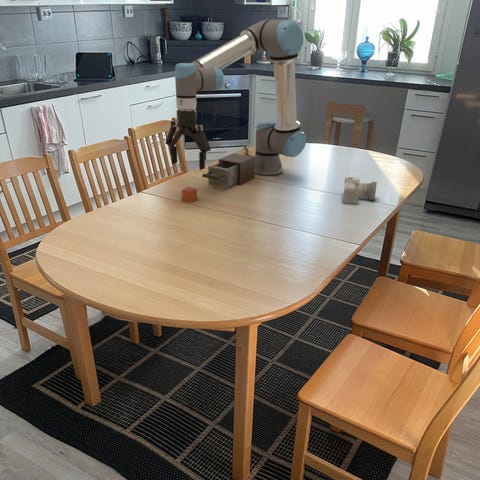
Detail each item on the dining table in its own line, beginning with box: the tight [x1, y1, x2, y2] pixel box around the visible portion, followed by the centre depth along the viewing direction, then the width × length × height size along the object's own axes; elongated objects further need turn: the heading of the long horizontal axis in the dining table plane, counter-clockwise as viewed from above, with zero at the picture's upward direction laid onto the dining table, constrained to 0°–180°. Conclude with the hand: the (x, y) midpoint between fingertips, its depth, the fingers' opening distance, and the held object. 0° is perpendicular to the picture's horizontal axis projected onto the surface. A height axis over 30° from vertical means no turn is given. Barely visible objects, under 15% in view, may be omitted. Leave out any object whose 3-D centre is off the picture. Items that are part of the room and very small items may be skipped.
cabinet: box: [218, 152, 255, 186], centre depth 227 cm, size 13×11×10 cm
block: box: [181, 186, 198, 203], centre depth 204 cm, size 4×4×4 cm
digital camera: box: [342, 176, 378, 205], centre depth 208 cm, size 17×14×10 cm
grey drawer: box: [201, 161, 239, 189], centre depth 218 cm, size 19×10×8 cm, turn 149°
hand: (188, 166), depth 197 cm, fingers open, 13 cm apart
